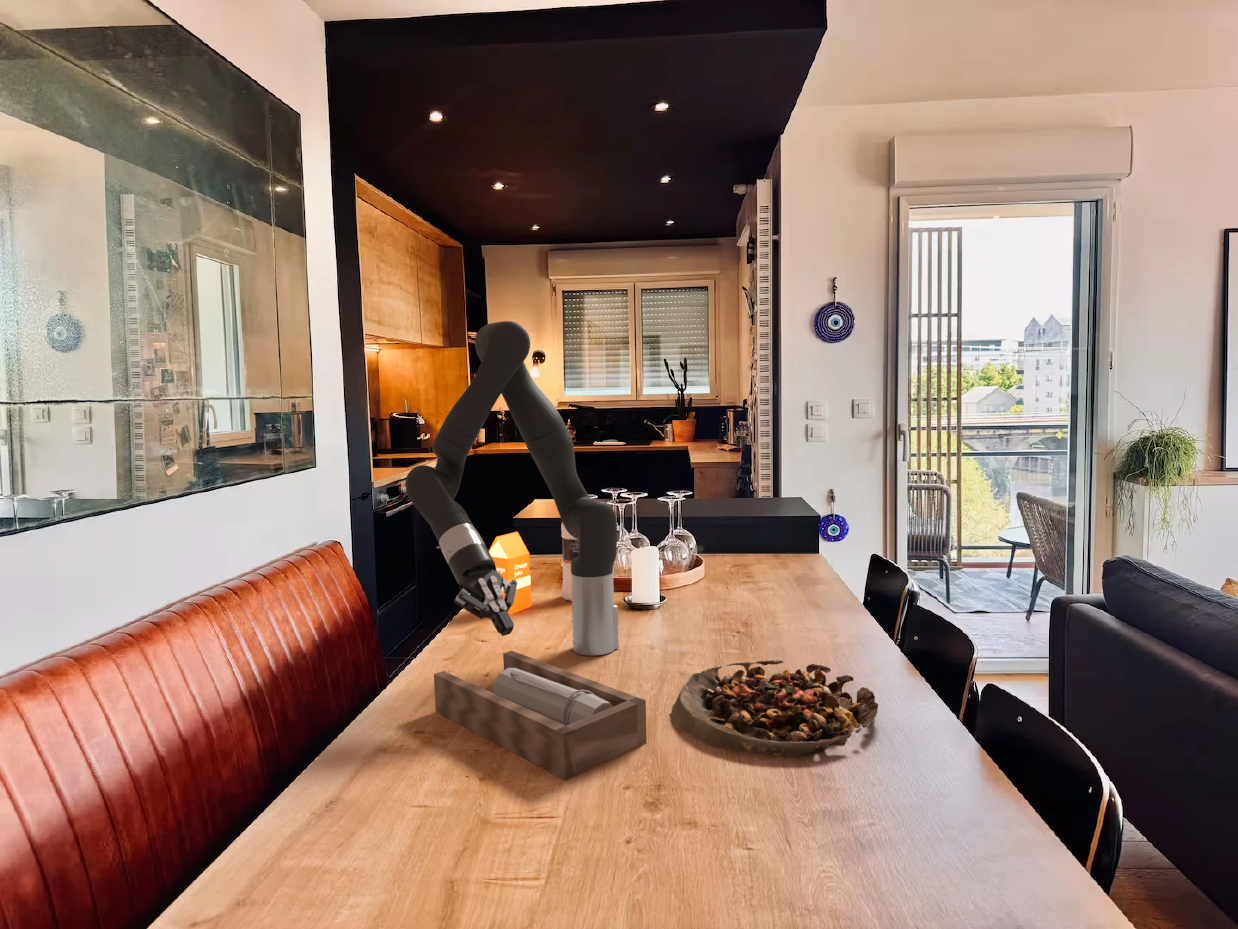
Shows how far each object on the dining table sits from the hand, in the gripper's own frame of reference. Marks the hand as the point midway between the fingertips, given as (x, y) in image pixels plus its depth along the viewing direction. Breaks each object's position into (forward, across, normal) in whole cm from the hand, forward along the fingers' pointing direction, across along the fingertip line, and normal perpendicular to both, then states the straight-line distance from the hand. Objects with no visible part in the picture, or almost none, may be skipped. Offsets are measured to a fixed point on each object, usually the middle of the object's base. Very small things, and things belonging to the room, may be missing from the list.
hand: (508, 632), depth 136 cm
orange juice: (-29, +41, +51) cm, 72 cm away
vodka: (-26, +60, +47) cm, 80 cm away
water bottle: (+4, +2, +10) cm, 11 cm away
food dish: (+34, +31, -12) cm, 48 cm away
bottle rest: (+15, 0, +6) cm, 16 cm away
